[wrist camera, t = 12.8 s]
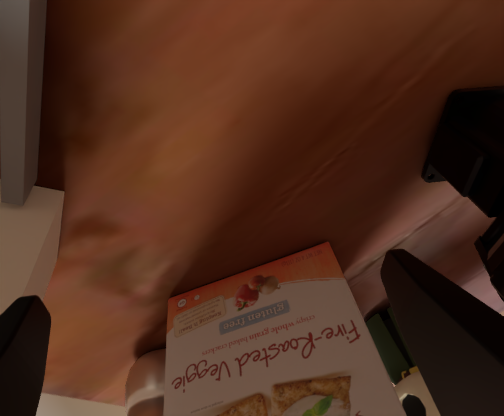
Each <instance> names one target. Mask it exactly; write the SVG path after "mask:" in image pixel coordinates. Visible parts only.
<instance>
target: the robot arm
mask: <svg viewBox="0 0 504 416" xmlns="http://www.w3.org/2000/svg"><path fill="white" fill-rule="evenodd" d="M459 96H460V97H459ZM458 97H459V99H458V100H457V101H456V99H457V98H458ZM430 174H431V175H430ZM429 175H430V176H429ZM421 177H422V179H423V180H424V181H425V182H428V183H430V182H440V181H448V182H449V183H450V184H451V185H452V186H453V187H454V188H455V189H456V190H457V191H458V192H459V193H460V194H461V195H462V196H463V197H468V198H469V199H470V200H471V201H472V202H473V203H474V204H475V205H476V206H477V207H478V208H479V209H480V210H481V211H482V212H483V213H484V214H485V215H486V216H488V217H490V218H491V217H496V218H495V220H494V221H493V222H492V224H491V225H490V226H489V227H488V229H487V230H486V231H485V232H484V234H483V235H482V236H479V237H478V238H477V240H476V241H475V242H474V245H475V247H476V249H477V251H478V253H479V255H480V257H481V259H482V261H483V264H484V266H485V268H486V270H487V272H488V274H489V276H490V281H491V284H492V286H493V287H494V288H495V289H496V291H497V293H498V294H499V296H500V298H501V299H502V300H503V302H504V86H499V87H484V88H470V89H458V90H455V91H453V92H452V93H451V94H450V95H449V97H448V100H447V103H446V105H445V108H444V111H443V114H442V117H441V120H440V123H439V126H438V128H437V131H436V134H435V137H434V140H433V143H432V146H431V149H430V151H429V154H428V157H427V160H426V163H425V166H424V169H423V171H422V175H421ZM380 274H381V279H382V282H383V285H384V288H385V291H386V293H387V296H388V299H389V302H390V305H391V308H392V310H393V313H394V316H395V319H396V322H397V324H398V327H399V329H400V332H401V334H402V336H403V338H404V340H405V342H406V344H407V347H408V349H409V351H410V353H411V355H412V357H413V359H414V361H415V363H416V365H417V367H418V370H419V372H420V374H421V376H422V378H423V380H424V382H425V384H426V386H427V388H428V390H429V393H430V395H431V397H432V399H433V401H434V403H435V405H436V407H437V409H438V411H439V414H440V416H504V316H502V315H501V314H499V313H498V312H496V311H495V310H493V309H492V308H491V307H489V306H488V305H486V304H485V303H483V302H482V301H480V300H479V299H477V298H476V297H474V296H473V295H471V294H470V293H468V292H467V291H465V290H464V289H462V288H461V287H459V286H458V285H456V284H455V283H453V282H452V281H450V280H449V279H447V278H446V277H444V276H443V275H442V274H440V273H439V272H437V271H436V270H434V269H433V268H431V267H430V266H428V265H427V264H425V263H424V262H422V261H421V260H419V259H418V258H416V257H415V256H413V255H412V254H410V253H409V252H407V251H406V250H404V249H393V250H388V251H387V252H386V255H385V258H384V261H383V264H382V267H381V271H380ZM50 328H51V316H50V313H49V312H48V310H47V308H46V307H45V305H44V303H43V302H42V300H41V298H40V297H39V296H37V295H30V296H22V297H19V298H17V299H16V300H15V301H14V302H13V303H12V304H11V305H10V306H9V307H8V308H7V309H6V310H5V311H4V312H3V313H2V314H1V315H0V416H36V411H37V407H38V404H39V400H40V396H41V391H42V387H43V381H44V375H45V368H46V360H47V352H48V344H49V336H50Z"/></svg>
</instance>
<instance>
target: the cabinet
mask: <svg viewBox="0 0 504 416" xmlns="http://www.w3.org/2000/svg"><path fill="white" fill-rule="evenodd" d="M46 9H47V0H0V148H1V179H0V315H1V314H2V313H3V312H4V311H5V310H6V309H7V308H8V307H9V306H10V305H11V304H12V303H13V302H14V301H15V300H16V299H17V298H19V297H22V296H30V295H37V296H39V297H40V298H41V300H42V301H43V299H44V296H45V293H46V290H47V287H48V284H49V281H50V278H51V276H52V273H53V270H54V267H55V264H56V261H57V256H58V247H59V238H60V229H61V220H62V210H63V201H64V192H65V191H59V190H54V189H49V188H44V187H38V186H34V184H35V182H36V180H37V171H38V153H39V135H40V117H41V99H42V81H43V63H44V45H45V27H46Z"/></svg>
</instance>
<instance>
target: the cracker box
mask: <svg viewBox="0 0 504 416" xmlns="http://www.w3.org/2000/svg"><path fill="white" fill-rule="evenodd" d="M163 416H407V415H406V413H405V411H404V409H403V407H402V404H401V402H400V400H399V398H398V395H397V393H396V391H395V389H394V387H393V384H392V382H391V380H390V378H389V375H388V373H387V371H386V369H385V366H384V364H383V362H382V360H381V357H380V355H379V353H378V351H377V348H376V346H375V344H374V342H373V339H372V337H371V335H370V333H369V330H368V328H367V326H366V324H365V321H364V319H363V317H362V315H361V312H360V310H359V308H358V306H357V303H356V301H355V299H354V297H353V295H352V292H351V290H350V288H349V286H348V283H347V281H346V279H345V277H344V275H343V273H342V270H341V268H340V266H339V264H338V261H337V259H336V257H335V255H334V252H333V250H332V248H331V246H330V244H329V242H325V243H323V244H320V245H317V246H315V247H312V248H309V249H306V250H303V251H301V252H298V253H295V254H292V255H289V256H287V257H284V258H281V259H278V260H275V261H273V262H270V263H267V264H264V265H261V266H258V267H256V268H253V269H250V270H247V271H245V272H242V273H239V274H236V275H233V276H231V277H228V278H225V279H222V280H219V281H216V282H214V283H211V284H208V285H205V286H203V287H200V288H197V289H194V290H191V291H188V292H186V293H183V294H180V295H177V296H174V297H171V298H169V299H168V318H167V336H166V366H165V391H164V413H163Z"/></svg>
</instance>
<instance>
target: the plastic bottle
mask: <svg viewBox="0 0 504 416" xmlns="http://www.w3.org/2000/svg"><path fill="white" fill-rule="evenodd" d="M165 366H166V349H159V350H154V351H151V352H148V353H146V354H144V355H142V356H141V357H140V358H139V359H138V360H137V361H136V362H135V363H134V365H133V366H132V367H131V369H130V371H129V375H128V378H127V382H126V385H125V406H126V413H127V416H163V413H164V391H165Z"/></svg>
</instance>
